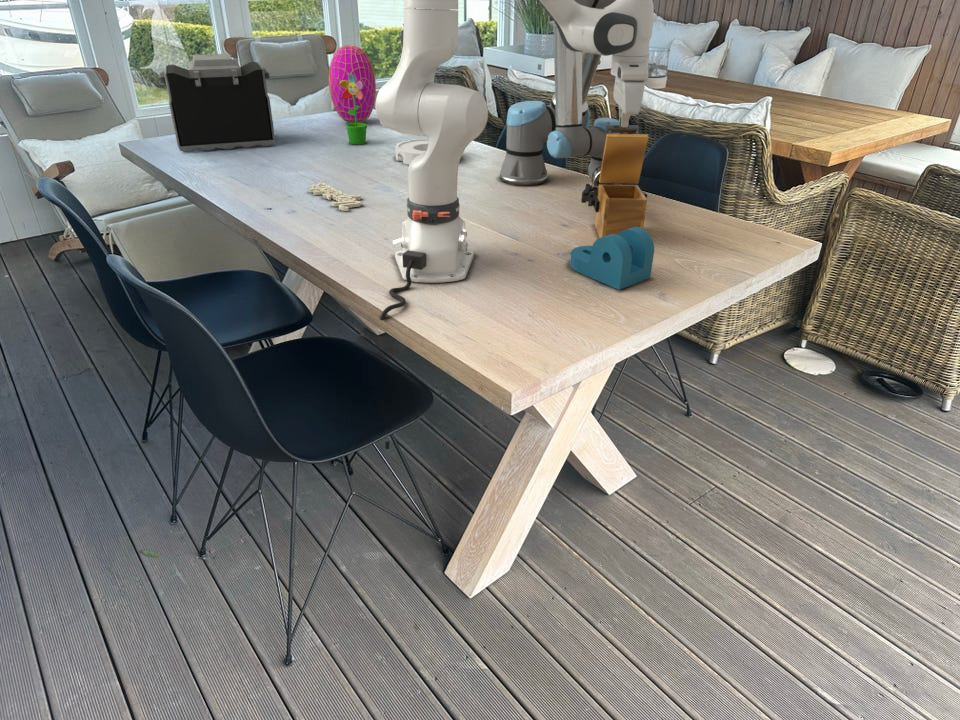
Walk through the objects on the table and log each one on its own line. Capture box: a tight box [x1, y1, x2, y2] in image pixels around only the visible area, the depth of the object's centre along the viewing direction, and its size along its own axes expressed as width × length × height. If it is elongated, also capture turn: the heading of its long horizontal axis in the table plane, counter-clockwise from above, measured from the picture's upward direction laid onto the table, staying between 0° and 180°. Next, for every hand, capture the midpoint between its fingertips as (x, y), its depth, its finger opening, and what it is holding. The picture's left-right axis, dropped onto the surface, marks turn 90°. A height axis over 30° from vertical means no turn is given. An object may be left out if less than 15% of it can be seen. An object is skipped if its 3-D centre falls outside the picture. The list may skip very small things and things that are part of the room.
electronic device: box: [159, 53, 276, 153], centre depth 251 cm, size 37×22×30 cm, turn 111°
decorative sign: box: [308, 182, 362, 212], centre depth 203 cm, size 26×1×10 cm
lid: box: [599, 124, 650, 185], centre depth 176 cm, size 14×10×9 cm
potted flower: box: [339, 73, 368, 145], centre depth 255 cm, size 9×8×25 cm
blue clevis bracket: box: [569, 227, 655, 291], centre depth 155 cm, size 18×10×10 cm, turn 39°
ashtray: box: [394, 138, 428, 166], centre depth 243 cm, size 23×23×4 cm
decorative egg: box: [328, 44, 377, 124], centre depth 286 cm, size 19×19×30 cm
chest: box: [594, 184, 648, 238], centre depth 176 cm, size 13×10×11 cm
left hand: (623, 125), depth 174 cm, fingers closed, pressing on lid
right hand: (618, 207), depth 178 cm, fingers closed on chest, 10 cm apart
